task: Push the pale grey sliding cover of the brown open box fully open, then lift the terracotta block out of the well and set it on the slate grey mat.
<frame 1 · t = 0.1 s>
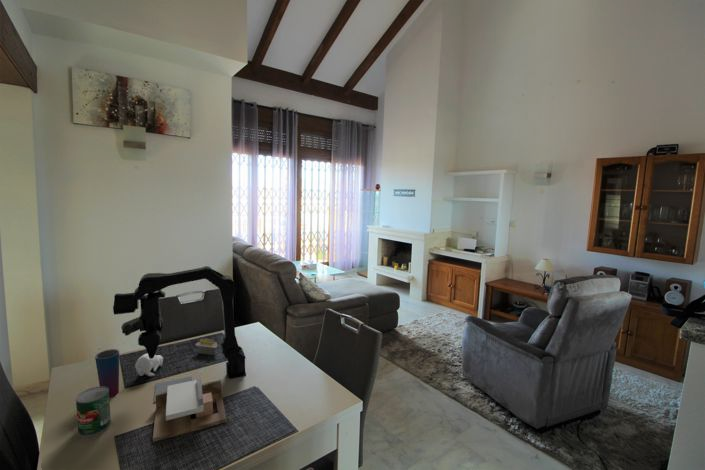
hand: (152, 352, 118), 15 cm above the table, tool pointing down, fingers open, 9 cm apart
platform: (208, 354, 148), on the table
block: (204, 412, 110), resting in brown open box
brown open box: (190, 415, 108), on the table
cover: (184, 395, 106), point 8 cm above the table, slide at 5.5 cm
white animal figurine: (152, 371, 133), on the table
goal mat: (174, 389, 121), on the table
cup: (110, 394, 118), on the table
canned tomato: (95, 428, 101), on the table
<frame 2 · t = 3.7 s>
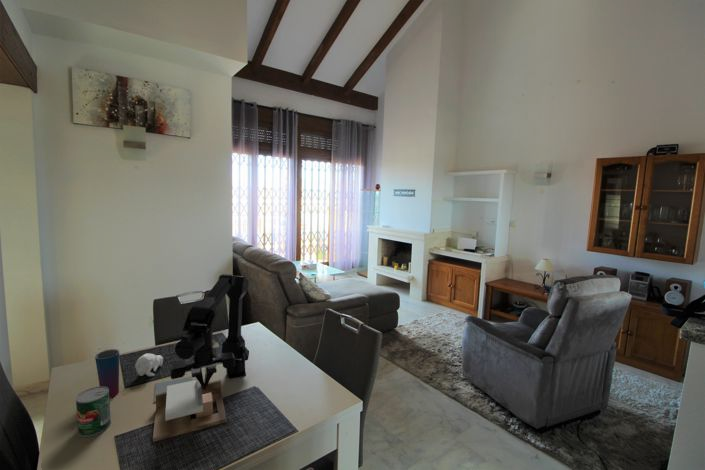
hand: (204, 389, 109), 8 cm above the table, tool pointing down, fingers closed
cover: (184, 395, 106), point 8 cm above the table, slide at 5.6 cm, touching gripper
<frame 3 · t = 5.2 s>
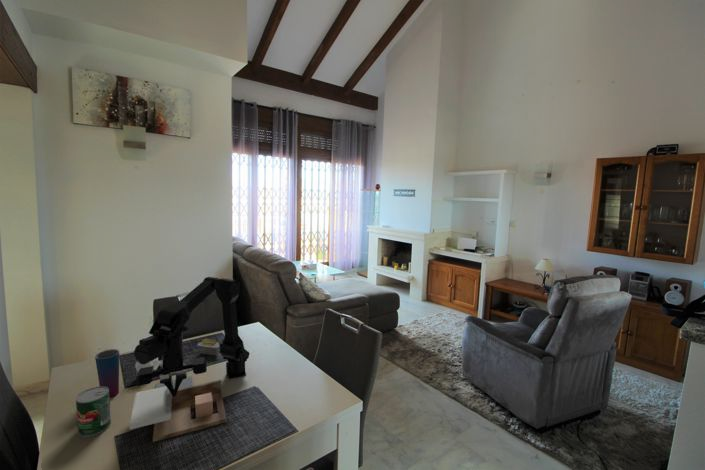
hand: (174, 395, 105), 8 cm above the table, tool pointing down, fingers closed
cover: (152, 402, 102), point 8 cm above the table, slide at 14.3 cm, touching gripper
everything else where it was.
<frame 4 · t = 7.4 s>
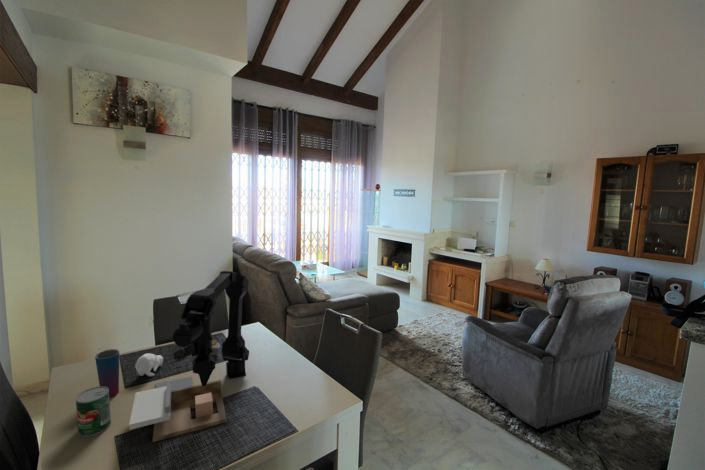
hand: (203, 378, 108), 12 cm above the table, tool pointing down, fingers open, 9 cm apart
cover: (152, 402, 102), point 8 cm above the table, slide at 14.4 cm
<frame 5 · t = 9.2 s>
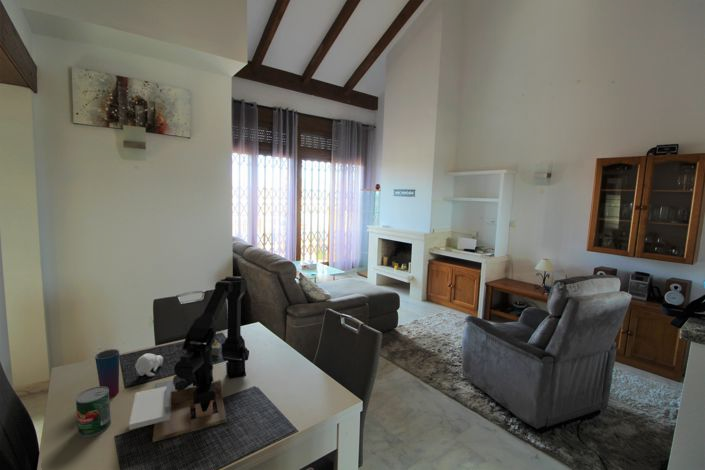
hand: (203, 406, 109), 2 cm above the table, tool pointing down, fingers closed on block, 5 cm apart
block: (204, 412, 110), resting in brown open box, touching gripper
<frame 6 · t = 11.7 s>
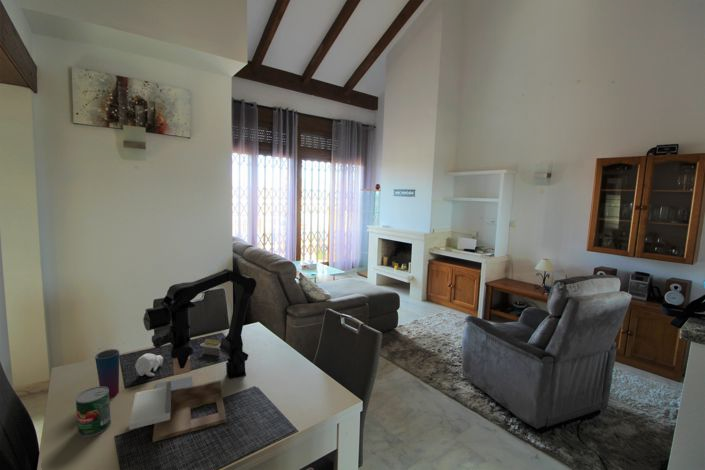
hand: (181, 364, 116), 12 cm above the table, tool pointing down, fingers closed on block, 5 cm apart
block: (181, 370, 116), point 10 cm above the table, touching gripper
when the fingers open (4 cm above the table, at t = 14.1 s): block drops 2 cm, resting on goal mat.
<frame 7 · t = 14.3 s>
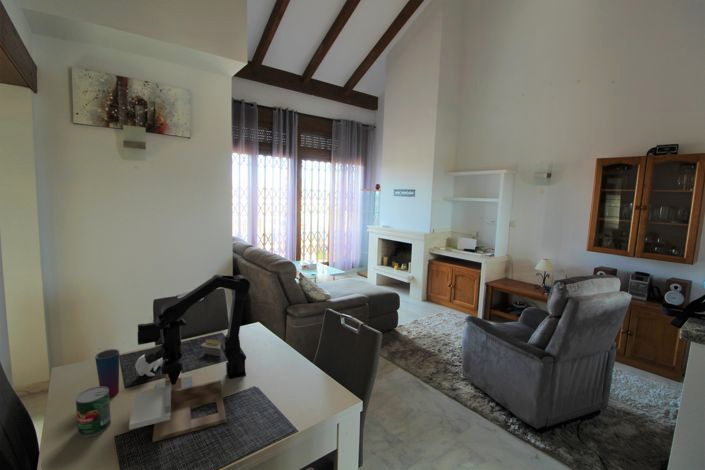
hand: (173, 379, 121), 4 cm above the table, tool pointing down, fingers open, 7 cm apart
block: (173, 388, 121), resting on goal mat
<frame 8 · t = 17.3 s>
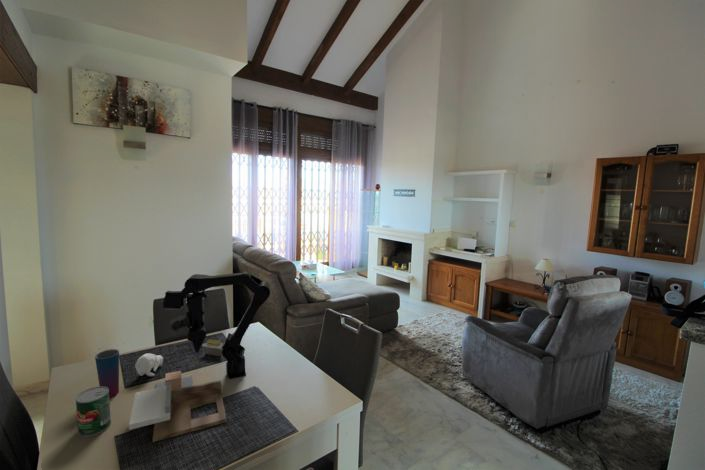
hand: (196, 347, 129), 12 cm above the table, tool pointing down, fingers open, 9 cm apart
at the end: cover slide at 14.4 cm; block inside the target area (0.0 cm from its centre), resting on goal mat; block tilted 0° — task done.
